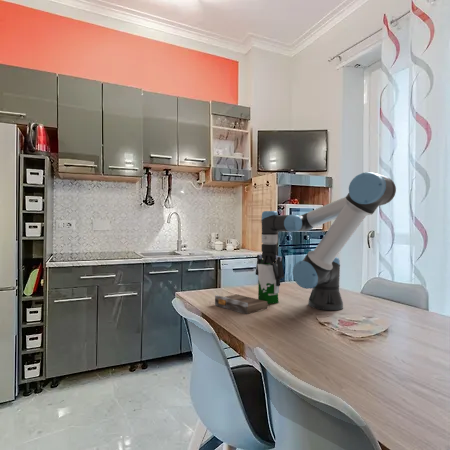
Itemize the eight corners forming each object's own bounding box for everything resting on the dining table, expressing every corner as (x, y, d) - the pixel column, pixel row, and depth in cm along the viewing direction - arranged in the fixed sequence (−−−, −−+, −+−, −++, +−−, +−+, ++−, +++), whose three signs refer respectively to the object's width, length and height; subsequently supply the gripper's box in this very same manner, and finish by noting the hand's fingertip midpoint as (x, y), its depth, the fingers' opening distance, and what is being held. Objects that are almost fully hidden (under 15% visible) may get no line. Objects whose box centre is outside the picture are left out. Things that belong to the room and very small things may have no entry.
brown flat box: (267, 308, 145) (267, 298, 145) (244, 314, 135) (244, 303, 135) (236, 300, 159) (236, 291, 159) (214, 305, 149) (214, 295, 149)
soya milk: (270, 299, 162) (270, 258, 163) (281, 303, 154) (281, 260, 154) (255, 301, 158) (255, 259, 158) (266, 305, 150) (266, 261, 150)
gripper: (247, 242, 161) (247, 289, 161) (282, 245, 146) (282, 296, 146) (257, 242, 166) (257, 287, 166) (292, 244, 151) (292, 293, 151)
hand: (269, 291), depth 156 cm, fingers open, 8 cm apart
